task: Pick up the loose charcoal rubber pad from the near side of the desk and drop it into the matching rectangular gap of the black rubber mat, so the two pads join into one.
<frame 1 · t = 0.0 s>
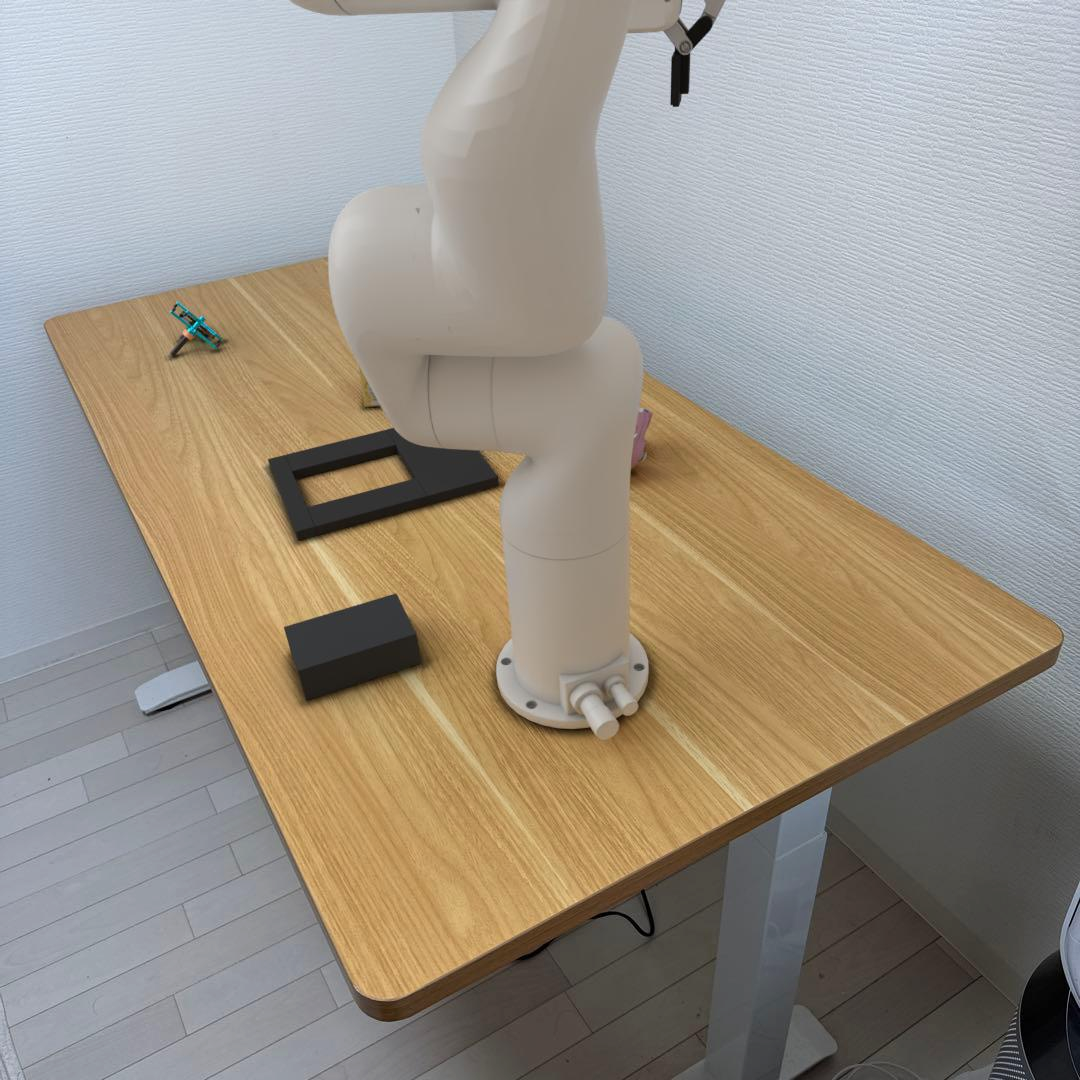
hand: (620, 104, 84), 37 cm above the table, tool pointing down, fingers open, 9 cm apart
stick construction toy: (193, 346, 139), on the table
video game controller: (622, 463, 107), on the table
loose pad: (356, 659, 83), on the table
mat: (381, 476, 107), on the table
candy box: (385, 392, 124), on the table
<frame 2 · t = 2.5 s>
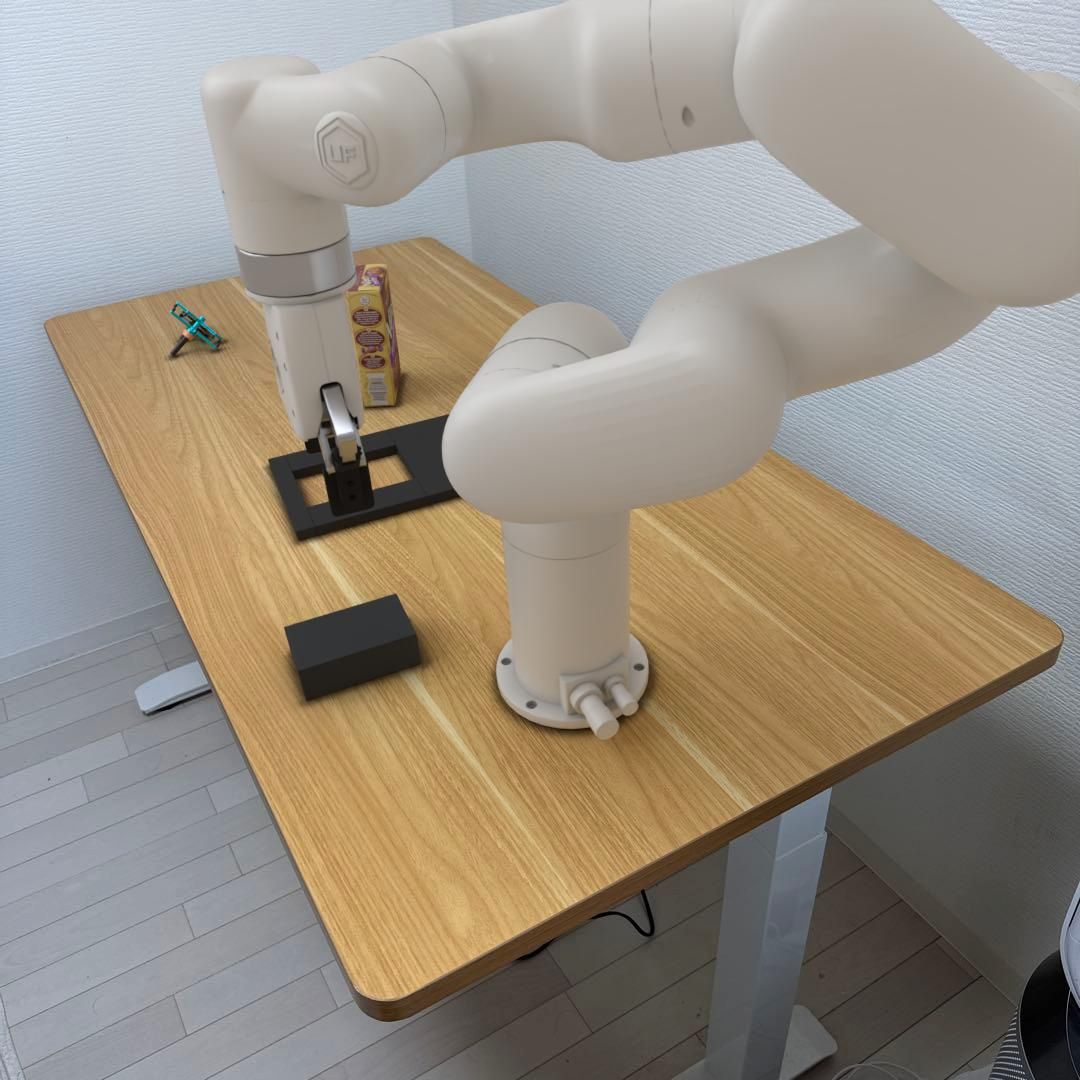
hand: (339, 478, 75), 17 cm above the table, tool pointing down, fingers open, 9 cm apart
nothing on the table moved.
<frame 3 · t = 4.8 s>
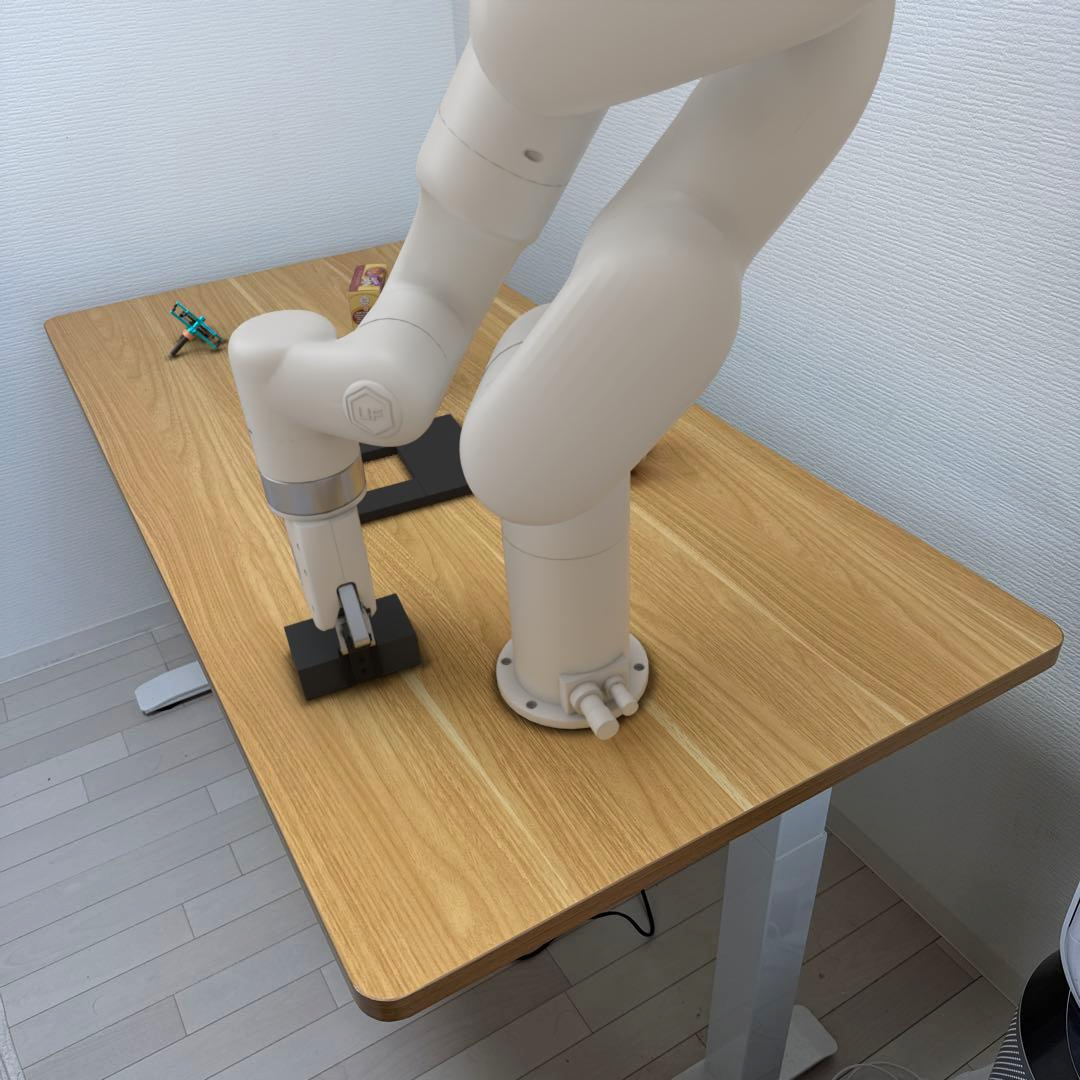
hand: (354, 652, 83), 1 cm above the table, tool pointing down, fingers closed on loose pad, 6 cm apart
loose pad: (355, 659, 83), on the table, touching gripper
everything else where it was.
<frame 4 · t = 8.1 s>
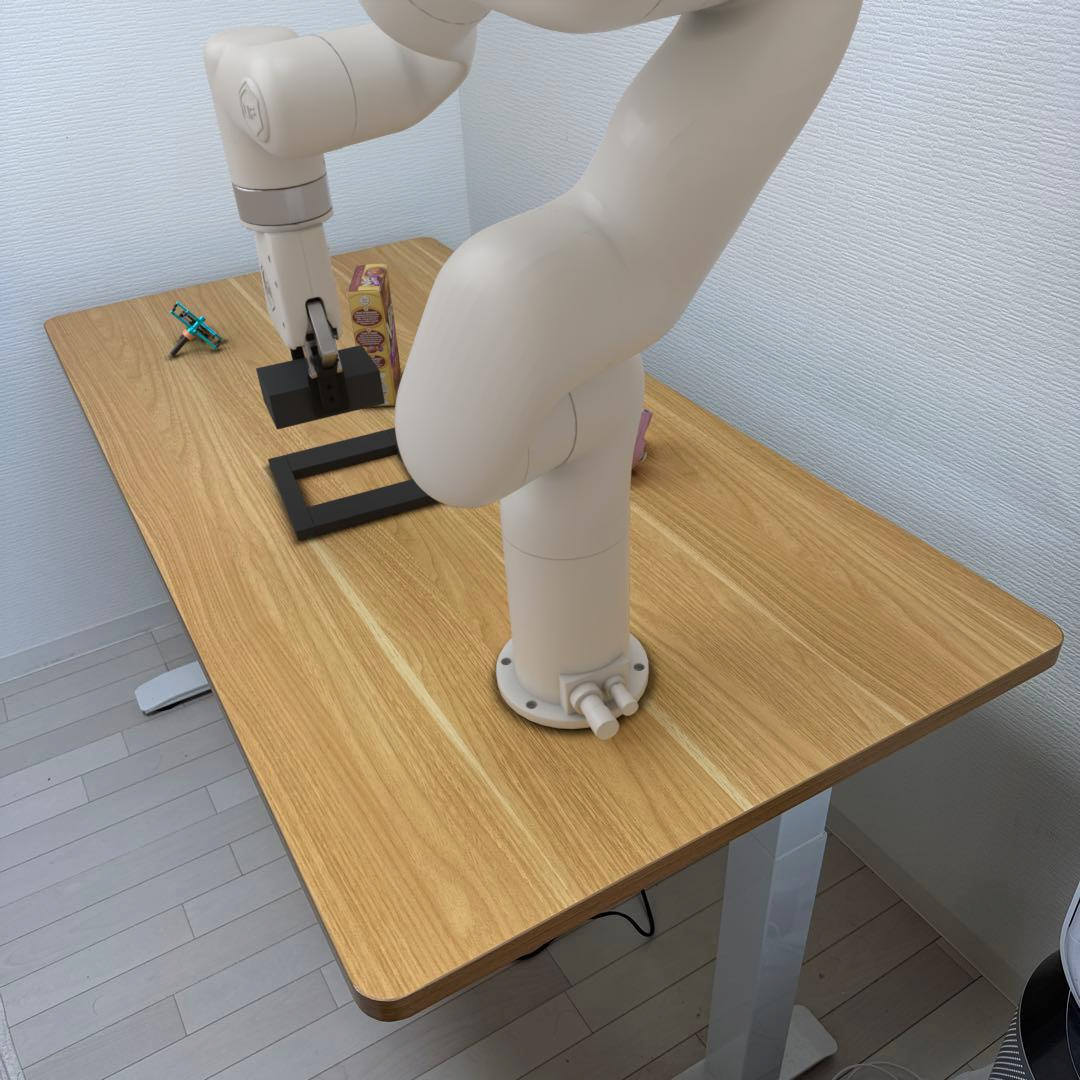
hand: (323, 394, 89), 16 cm above the table, tool pointing down, fingers closed on loose pad, 6 cm apart
loose pad: (323, 402, 89), point 15 cm above the table, touching gripper
everything else where it was.
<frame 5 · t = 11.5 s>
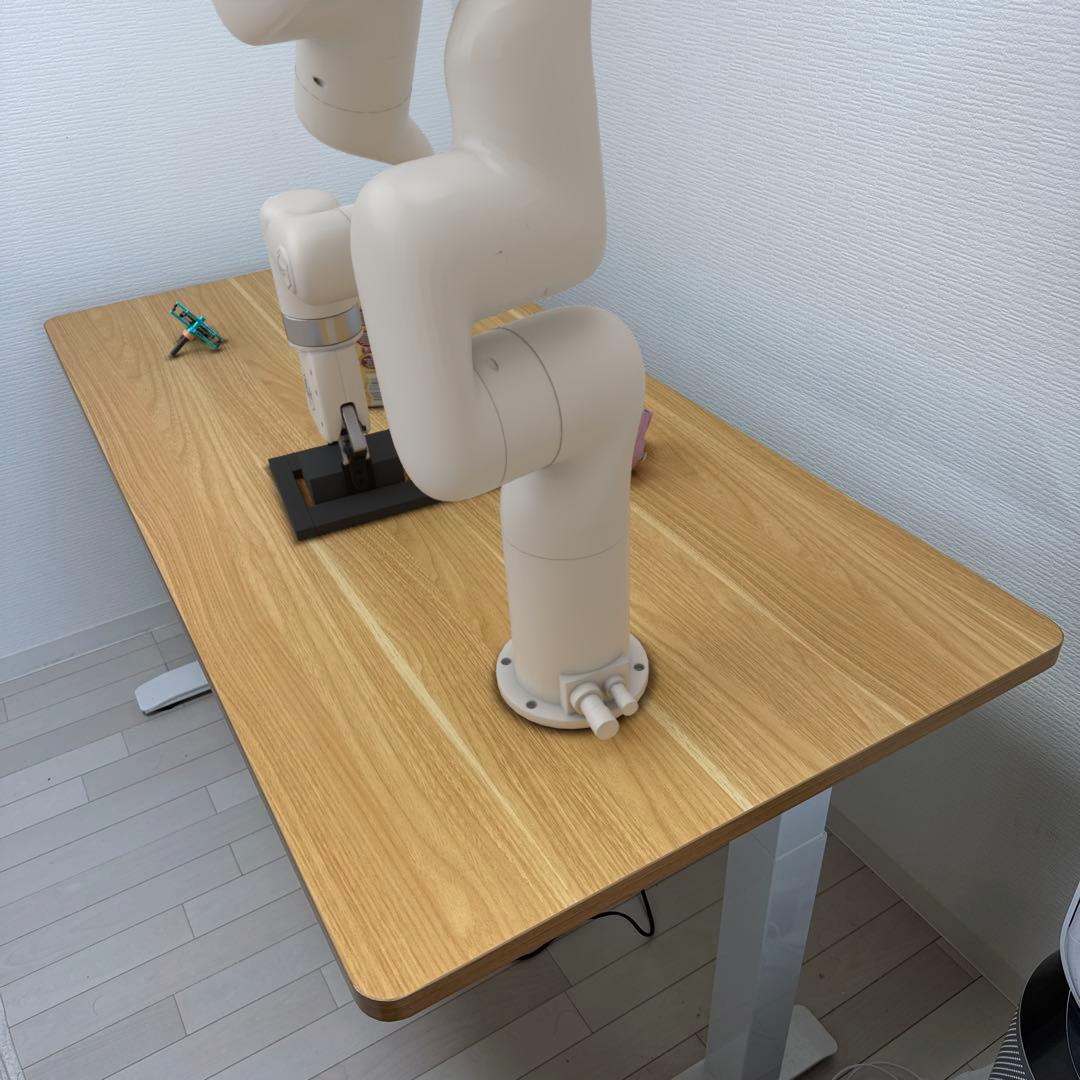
hand: (353, 475, 106), 1 cm above the table, tool pointing down, fingers closed on loose pad, 6 cm apart
loose pad: (354, 481, 106), resting in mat, touching gripper
everything else where it was.
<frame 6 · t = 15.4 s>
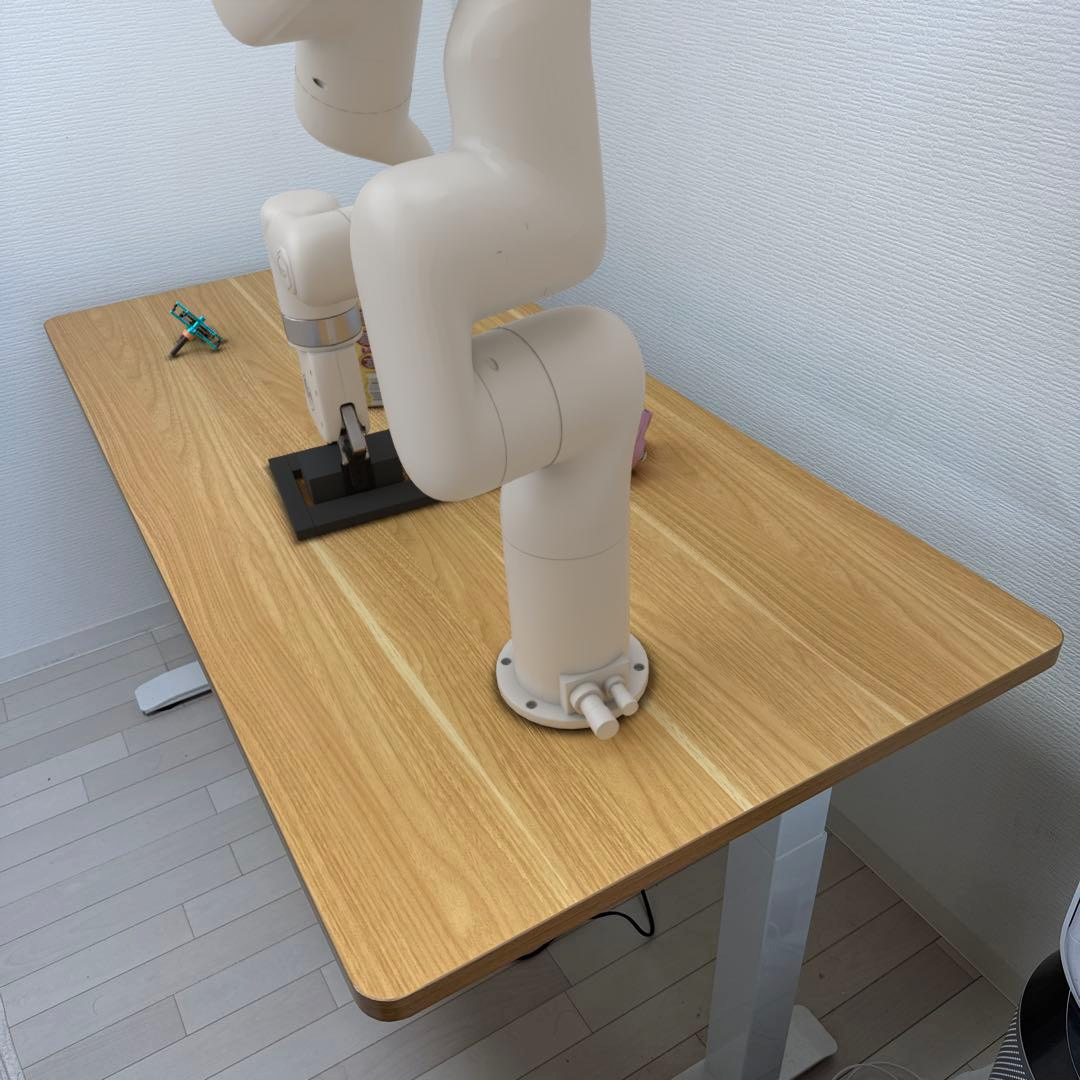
hand: (353, 474, 106), 1 cm above the table, tool pointing down, fingers closed on loose pad, 5 cm apart
loose pad: (353, 481, 106), resting in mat, touching gripper
everything else where it was.
when the fingers open (2 cm above the table, at t = 18.9 s): loose pad drops 1 cm, resting in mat.
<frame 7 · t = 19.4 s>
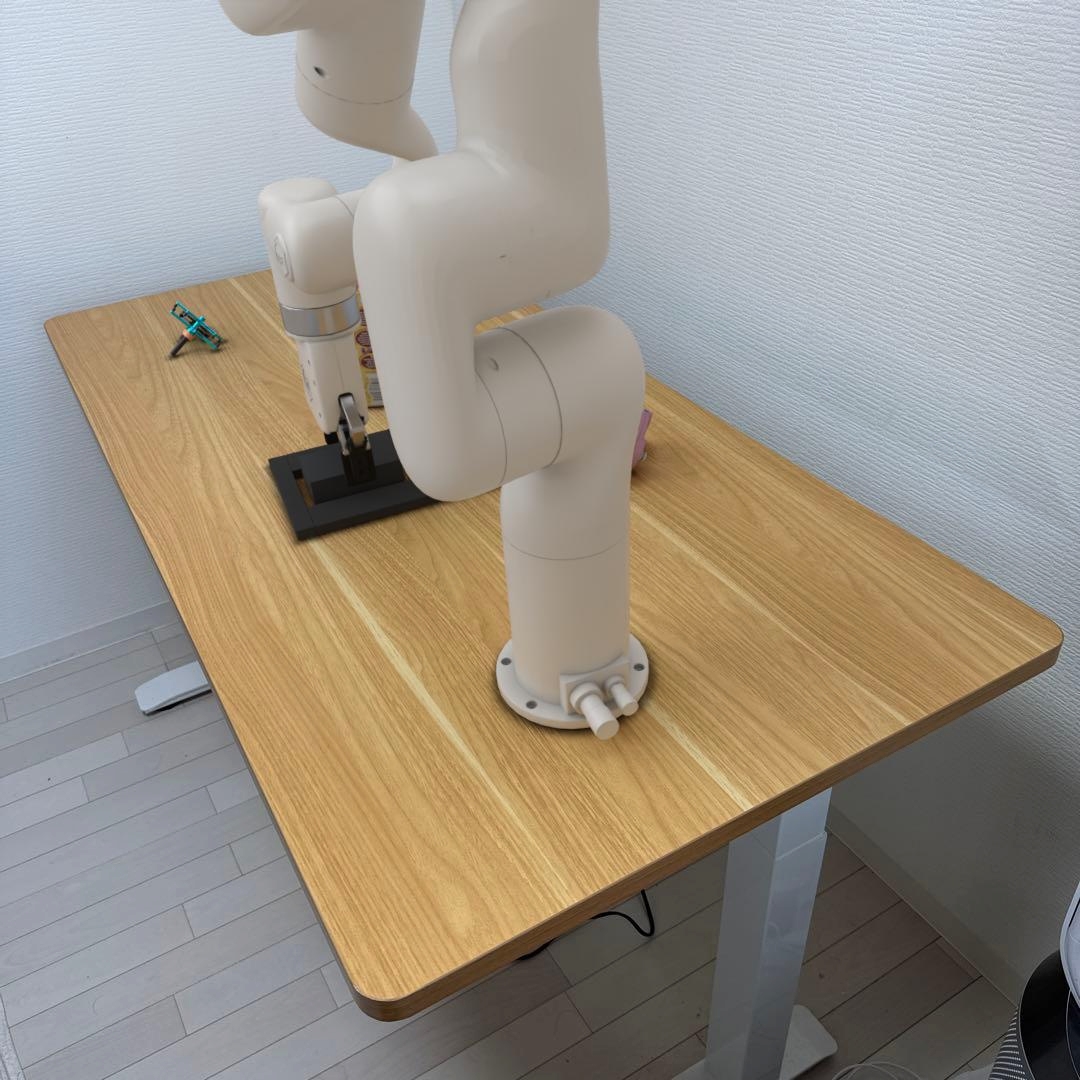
hand: (350, 461, 105), 3 cm above the table, tool pointing down, fingers open, 9 cm apart
loose pad: (355, 484, 106), resting in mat
everything else where it was.
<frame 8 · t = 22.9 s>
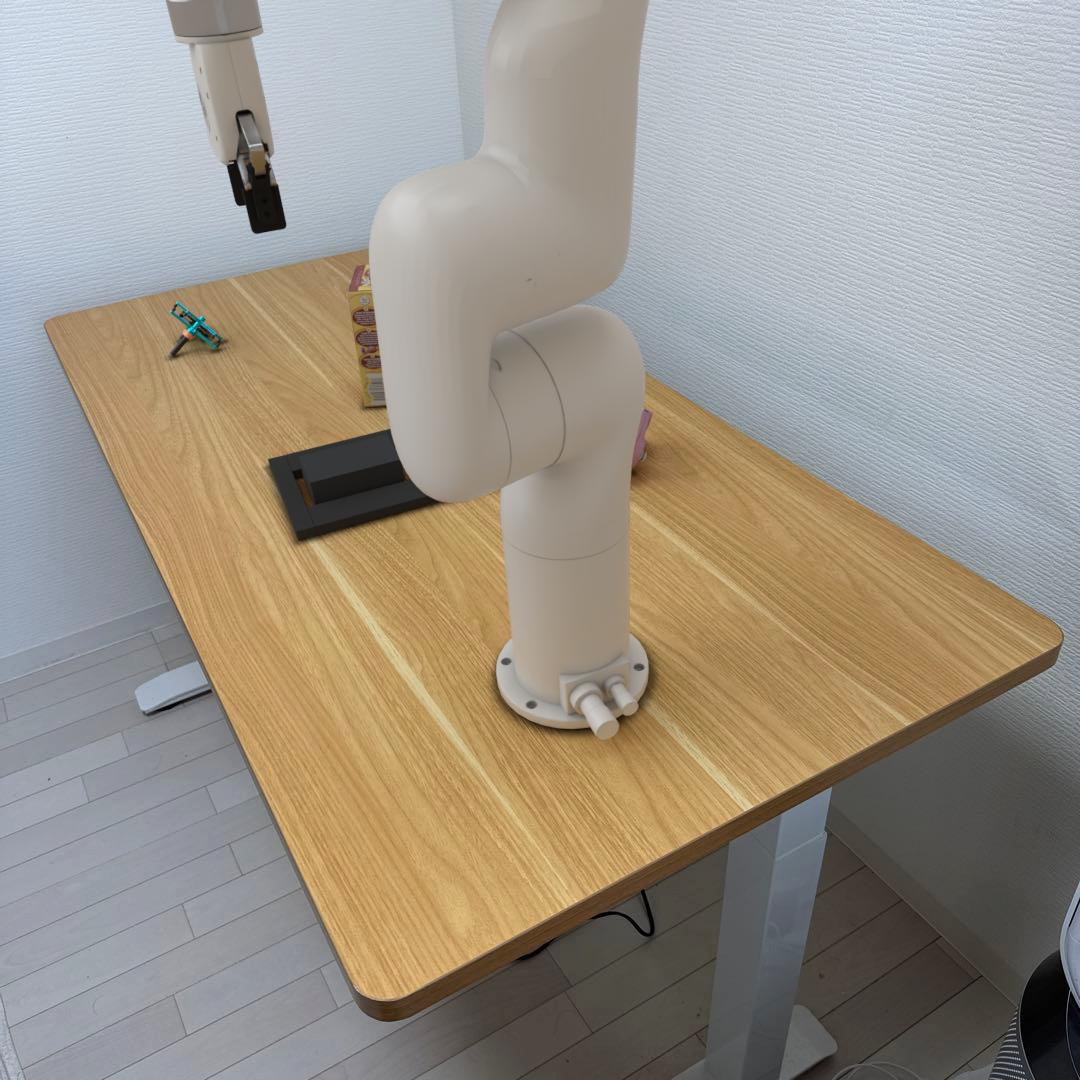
hand: (260, 216, 93), 28 cm above the table, tool pointing down, fingers open, 9 cm apart
nothing on the table moved.
at the end: loose pad 0.1 cm from the target spot on the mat, point 0.0 cm above the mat's base; loose pad tilted 0°; the gripper is holding nothing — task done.
